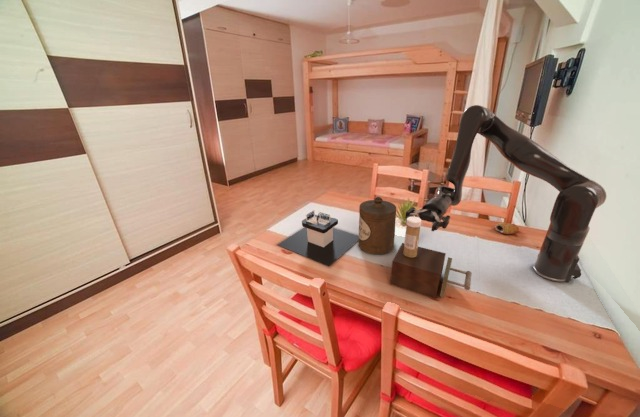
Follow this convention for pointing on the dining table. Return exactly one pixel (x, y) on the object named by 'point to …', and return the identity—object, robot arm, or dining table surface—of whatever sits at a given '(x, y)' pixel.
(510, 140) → the robot arm
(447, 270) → the drawer
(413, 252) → the sprinkles bottle
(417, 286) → the cabinet
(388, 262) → the dining table surface
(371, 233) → the wooden container
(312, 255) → the capped box on tray
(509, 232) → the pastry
